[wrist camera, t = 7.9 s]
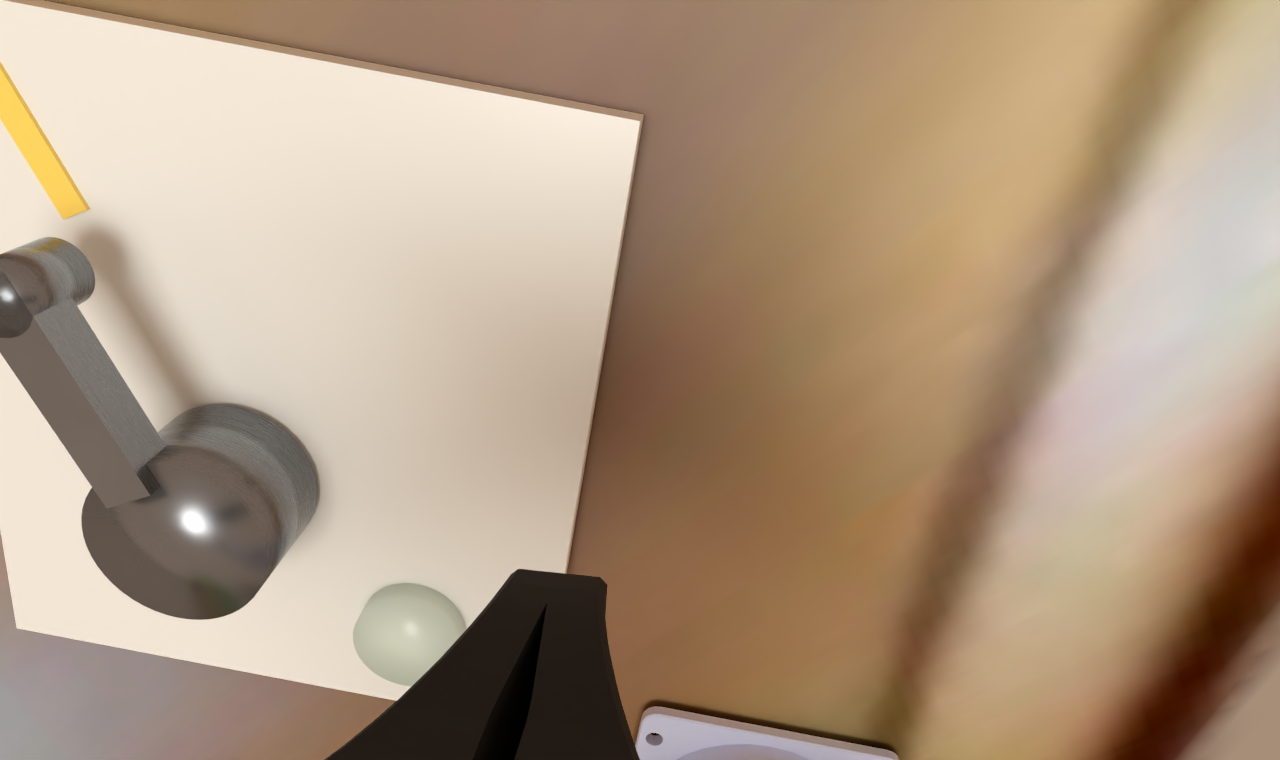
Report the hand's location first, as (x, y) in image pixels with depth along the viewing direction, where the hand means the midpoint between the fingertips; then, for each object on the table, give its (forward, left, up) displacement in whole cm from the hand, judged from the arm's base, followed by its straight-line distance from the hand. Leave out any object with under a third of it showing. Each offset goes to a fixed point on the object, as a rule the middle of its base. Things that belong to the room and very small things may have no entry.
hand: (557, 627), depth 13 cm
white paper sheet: (-3, +9, -10) cm, 14 cm away
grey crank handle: (-3, +11, -9) cm, 14 cm away
